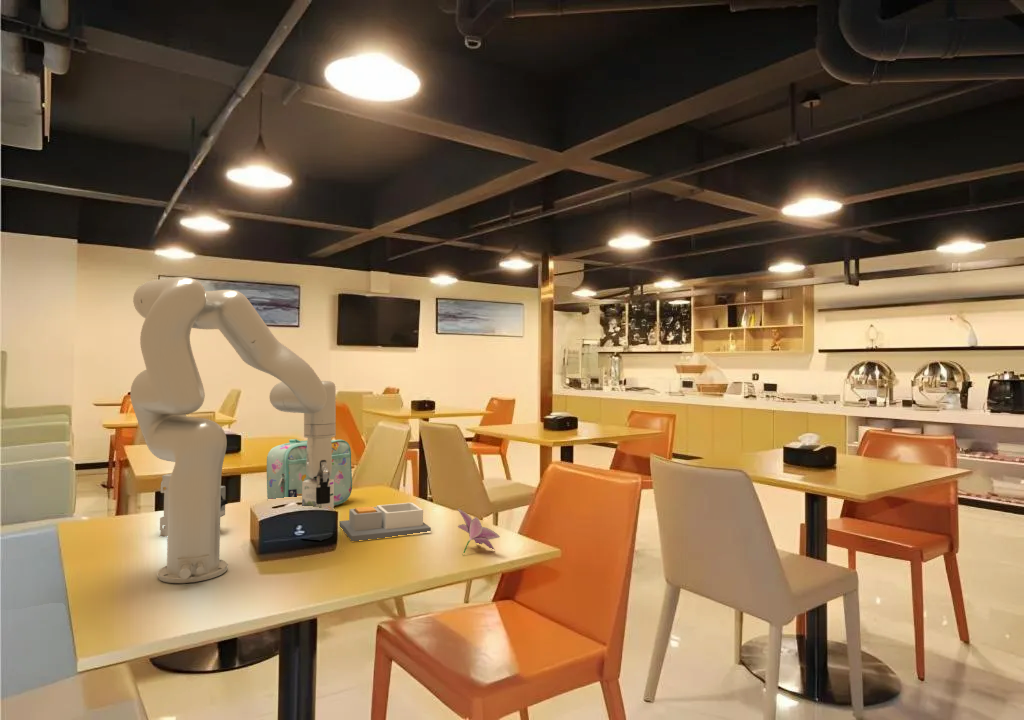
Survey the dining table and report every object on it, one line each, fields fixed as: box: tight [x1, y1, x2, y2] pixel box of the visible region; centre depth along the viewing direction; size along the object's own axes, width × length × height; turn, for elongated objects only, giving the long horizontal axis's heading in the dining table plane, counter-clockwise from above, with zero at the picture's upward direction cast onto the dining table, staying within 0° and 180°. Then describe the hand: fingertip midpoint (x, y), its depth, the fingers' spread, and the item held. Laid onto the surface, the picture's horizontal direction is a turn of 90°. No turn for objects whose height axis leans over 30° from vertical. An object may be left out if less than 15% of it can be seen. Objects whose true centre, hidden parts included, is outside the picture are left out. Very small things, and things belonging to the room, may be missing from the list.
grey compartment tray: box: [338, 502, 432, 542], centre depth 161 cm, size 16×20×6 cm
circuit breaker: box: [159, 473, 229, 537], centre depth 156 cm, size 8×14×15 cm, turn 89°
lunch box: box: [266, 438, 353, 507], centre depth 184 cm, size 27×10×21 cm, turn 150°
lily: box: [457, 508, 500, 554], centre depth 143 cm, size 12×12×10 cm
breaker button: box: [354, 506, 376, 514], centre depth 159 cm, size 4×4×4 cm
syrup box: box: [302, 478, 335, 510], centre depth 153 cm, size 6×6×14 cm
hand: (319, 499), depth 153 cm, fingers open, 9 cm apart
